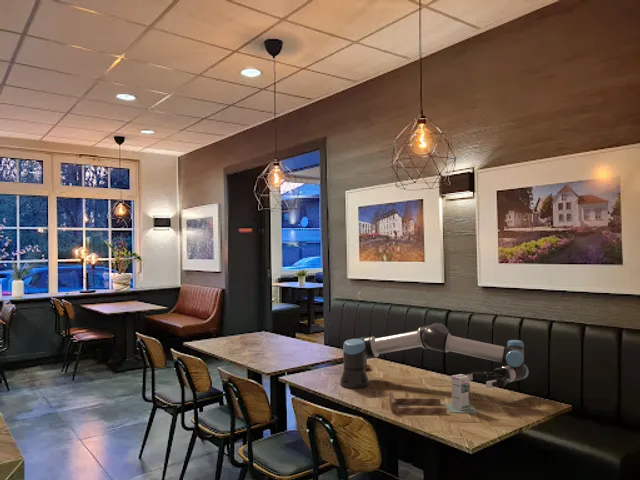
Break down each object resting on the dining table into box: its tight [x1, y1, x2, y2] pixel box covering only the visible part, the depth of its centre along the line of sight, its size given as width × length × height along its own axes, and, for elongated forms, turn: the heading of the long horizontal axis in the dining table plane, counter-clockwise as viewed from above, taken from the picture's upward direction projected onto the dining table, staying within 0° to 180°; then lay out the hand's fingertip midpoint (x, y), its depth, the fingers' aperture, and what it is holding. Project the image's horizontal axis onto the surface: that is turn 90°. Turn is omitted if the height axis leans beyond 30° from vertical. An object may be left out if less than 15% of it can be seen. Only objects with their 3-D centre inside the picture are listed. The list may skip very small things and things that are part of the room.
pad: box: [444, 403, 479, 414], centre depth 223 cm, size 12×12×1 cm
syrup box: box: [450, 373, 471, 410], centre depth 223 cm, size 6×6×14 cm
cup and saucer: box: [365, 359, 371, 371], centre depth 300 cm, size 12×12×6 cm
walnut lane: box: [388, 391, 448, 415], centre depth 224 cm, size 24×15×5 cm, turn 87°
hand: (474, 381), depth 228 cm, fingers open, 13 cm apart
